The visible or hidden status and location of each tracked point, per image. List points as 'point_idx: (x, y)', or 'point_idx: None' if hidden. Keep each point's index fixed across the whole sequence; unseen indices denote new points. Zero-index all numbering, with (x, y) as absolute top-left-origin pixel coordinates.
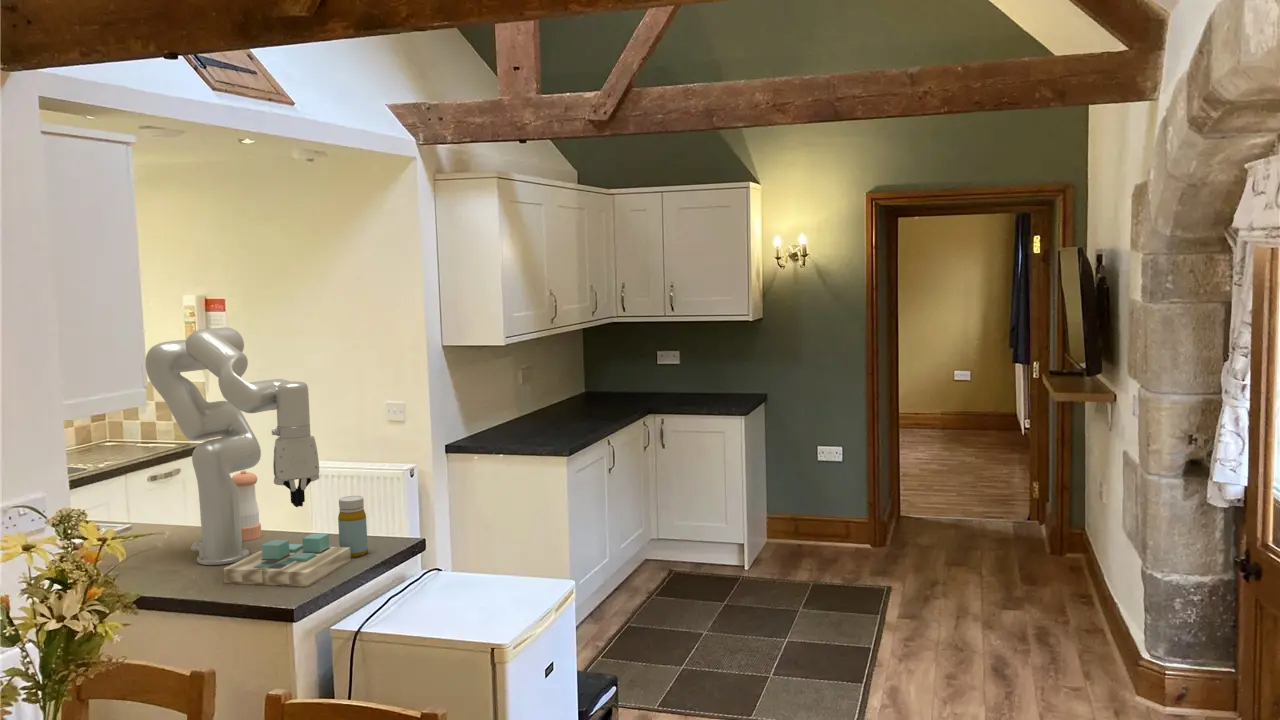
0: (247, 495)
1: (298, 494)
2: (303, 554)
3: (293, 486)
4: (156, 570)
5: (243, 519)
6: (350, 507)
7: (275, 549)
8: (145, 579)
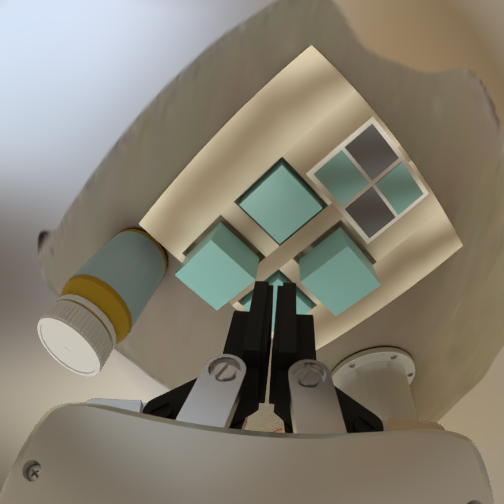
0: None
1: (274, 334)
2: (272, 212)
3: (310, 391)
4: (462, 367)
5: None
6: (76, 308)
7: (352, 247)
8: (495, 334)
